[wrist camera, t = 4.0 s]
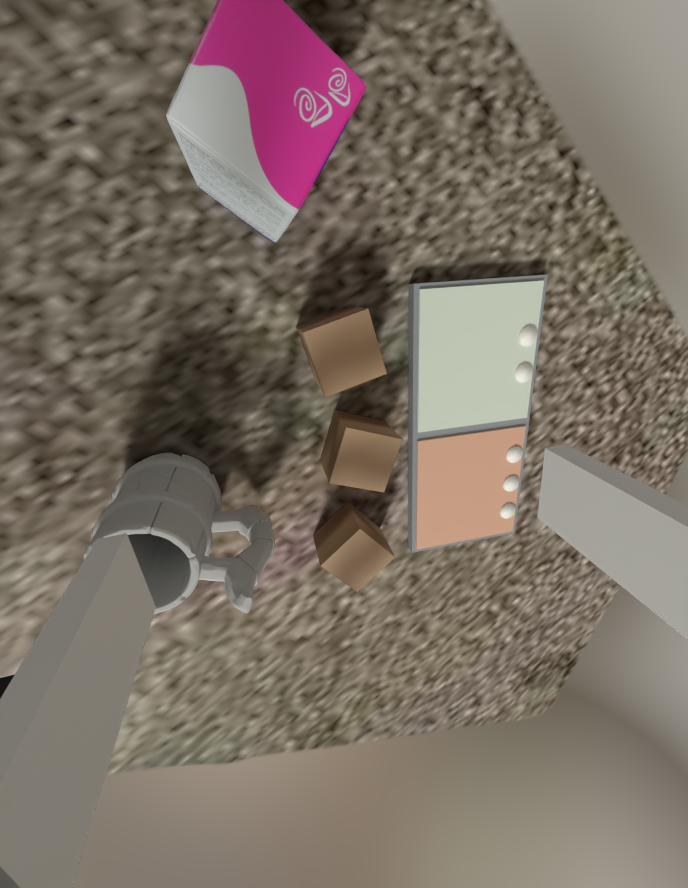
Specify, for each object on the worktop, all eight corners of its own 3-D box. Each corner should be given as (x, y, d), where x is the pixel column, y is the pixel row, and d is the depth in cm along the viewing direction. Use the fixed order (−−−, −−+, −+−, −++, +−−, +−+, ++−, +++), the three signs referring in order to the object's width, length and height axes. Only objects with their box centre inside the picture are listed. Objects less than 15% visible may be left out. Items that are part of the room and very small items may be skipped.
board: (408, 283, 29) (415, 283, 28) (539, 275, 31) (550, 274, 30) (408, 546, 39) (413, 555, 37) (508, 527, 40) (516, 534, 39)
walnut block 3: (312, 534, 36) (320, 565, 32) (347, 500, 35) (360, 528, 31) (345, 558, 38) (357, 591, 34) (379, 527, 37) (394, 557, 33)
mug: (124, 440, 29) (47, 531, 18) (281, 464, 33) (294, 553, 22) (116, 527, 32) (44, 654, 21) (263, 541, 35) (267, 656, 24)
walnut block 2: (334, 409, 32) (346, 427, 28) (384, 420, 33) (402, 439, 29) (320, 459, 33) (329, 483, 29) (368, 468, 35) (384, 492, 30)
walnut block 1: (296, 326, 29) (302, 332, 25) (352, 305, 29) (368, 308, 25) (316, 382, 31) (325, 397, 27) (369, 362, 31) (386, 373, 27)
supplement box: (278, 247, 27) (293, 220, 16) (195, 186, 24) (152, 111, 14) (323, 165, 26) (371, 81, 15) (241, 95, 23) (230, -62, 13)
